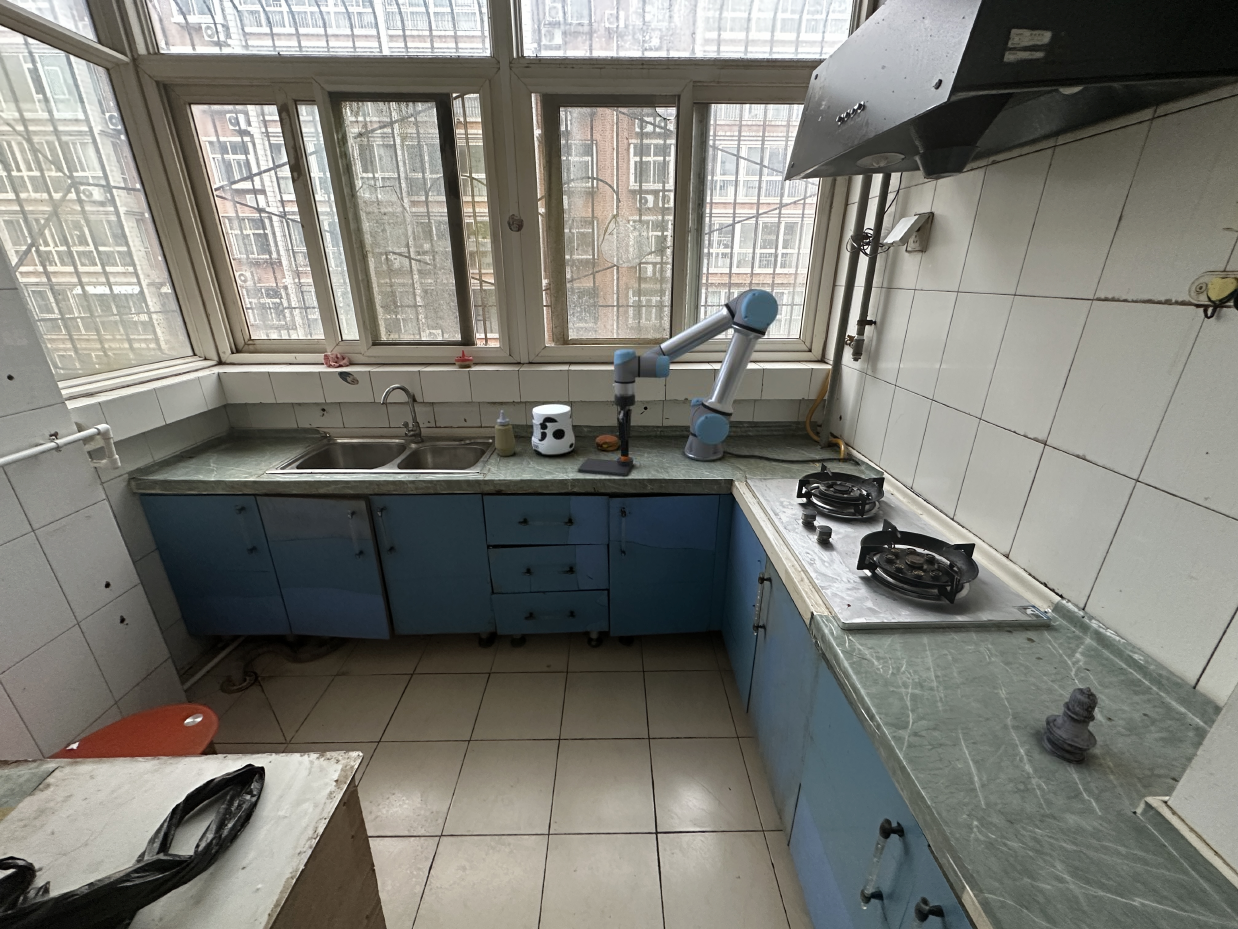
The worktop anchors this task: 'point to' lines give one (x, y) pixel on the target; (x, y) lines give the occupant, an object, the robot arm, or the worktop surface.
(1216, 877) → the worktop surface
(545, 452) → the milk container
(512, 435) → the squeeze bottle
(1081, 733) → the dark grey chess piece
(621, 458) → the tare button
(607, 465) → the scale
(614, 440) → the burger
